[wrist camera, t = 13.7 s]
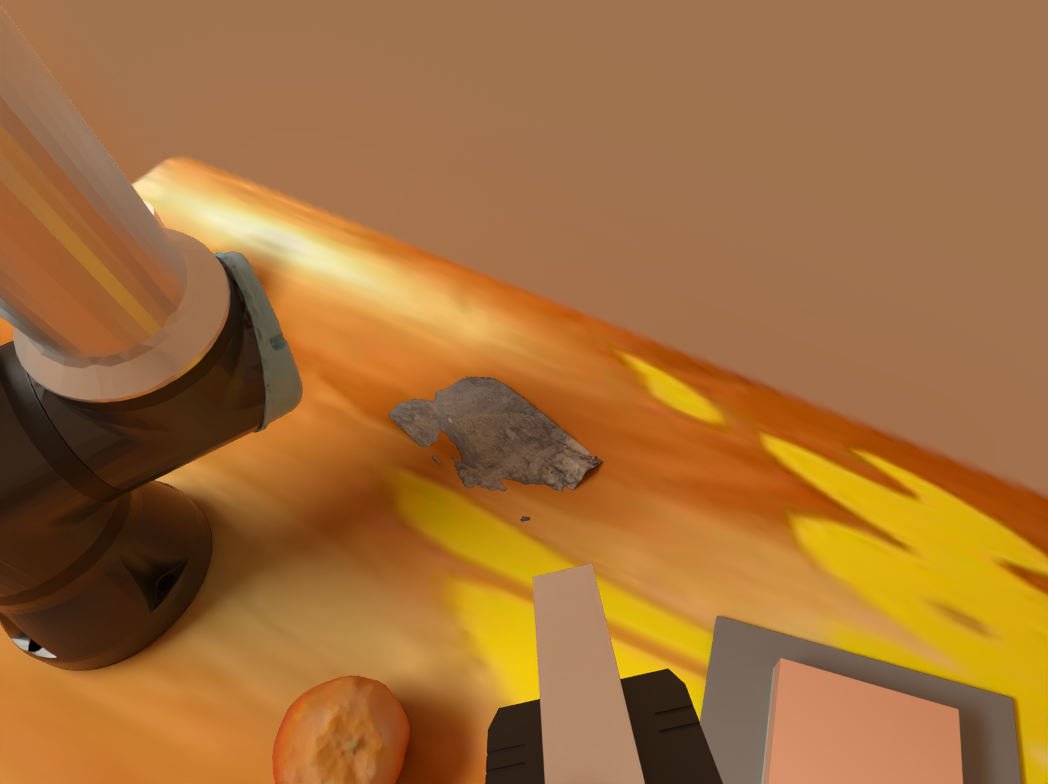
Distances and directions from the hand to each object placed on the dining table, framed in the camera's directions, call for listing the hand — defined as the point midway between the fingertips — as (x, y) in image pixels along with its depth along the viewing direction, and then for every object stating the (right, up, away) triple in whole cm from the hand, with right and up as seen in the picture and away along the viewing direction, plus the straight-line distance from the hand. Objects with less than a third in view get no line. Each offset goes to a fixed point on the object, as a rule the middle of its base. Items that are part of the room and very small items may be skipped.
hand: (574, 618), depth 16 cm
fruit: (-12, -19, +27) cm, 35 cm away
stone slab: (-4, +1, +42) cm, 42 cm away
